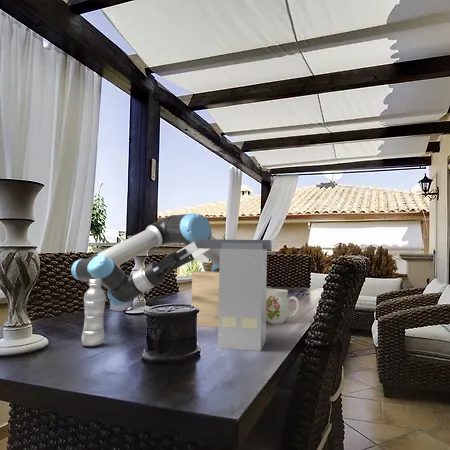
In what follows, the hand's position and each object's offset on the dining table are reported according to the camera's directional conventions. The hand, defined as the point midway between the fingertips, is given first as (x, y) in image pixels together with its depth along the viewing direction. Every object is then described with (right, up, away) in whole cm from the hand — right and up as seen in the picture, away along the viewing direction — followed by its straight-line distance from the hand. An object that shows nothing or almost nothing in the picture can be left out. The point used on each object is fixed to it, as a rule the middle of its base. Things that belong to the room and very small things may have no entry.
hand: (202, 245), depth 124 cm
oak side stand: (+4, -33, +25) cm, 41 cm away
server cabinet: (+13, -31, -5) cm, 34 cm away
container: (-42, -34, +56) cm, 78 cm away
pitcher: (+29, -34, +32) cm, 55 cm away
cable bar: (+10, -1, -2) cm, 10 cm away
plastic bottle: (-33, -30, -9) cm, 45 cm away
